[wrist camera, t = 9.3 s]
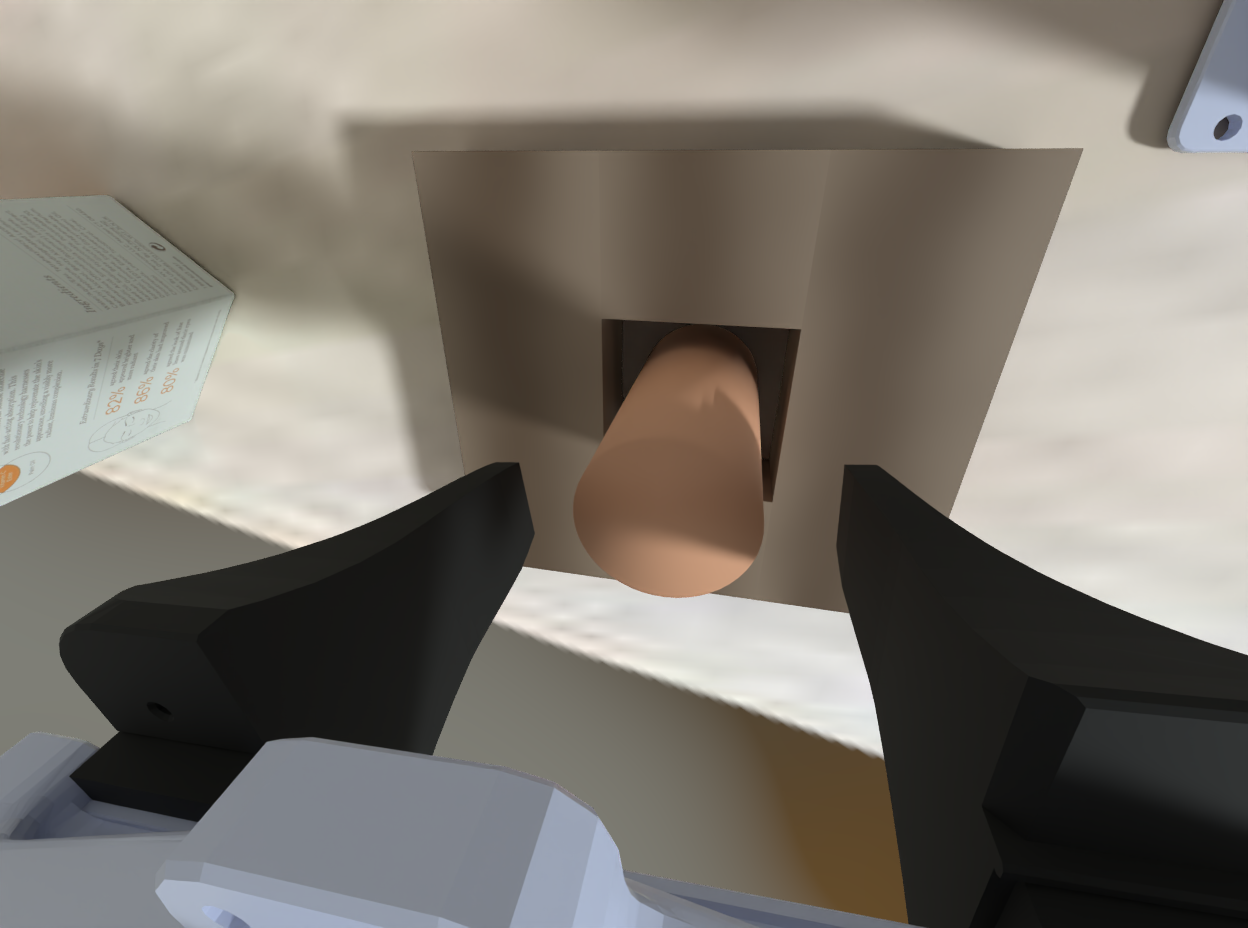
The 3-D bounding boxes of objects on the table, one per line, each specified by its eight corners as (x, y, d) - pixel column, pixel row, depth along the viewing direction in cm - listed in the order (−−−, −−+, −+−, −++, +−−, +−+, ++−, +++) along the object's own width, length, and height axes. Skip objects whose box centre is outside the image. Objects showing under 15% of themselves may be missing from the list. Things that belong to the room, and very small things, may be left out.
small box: (113, 190, 20) (-415, 202, 11) (242, 294, 21) (-143, 384, 12) (84, 342, 24) (-324, 443, 15) (194, 423, 25) (-125, 565, 16)
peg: (755, 317, 17) (759, 431, 10) (759, 428, 19) (767, 599, 11) (636, 330, 18) (555, 443, 11) (652, 435, 20) (591, 596, 12)
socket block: (1021, 153, 14) (1083, 148, 11) (890, 566, 21) (910, 622, 18) (463, 155, 17) (411, 151, 14) (508, 518, 23) (478, 560, 21)
